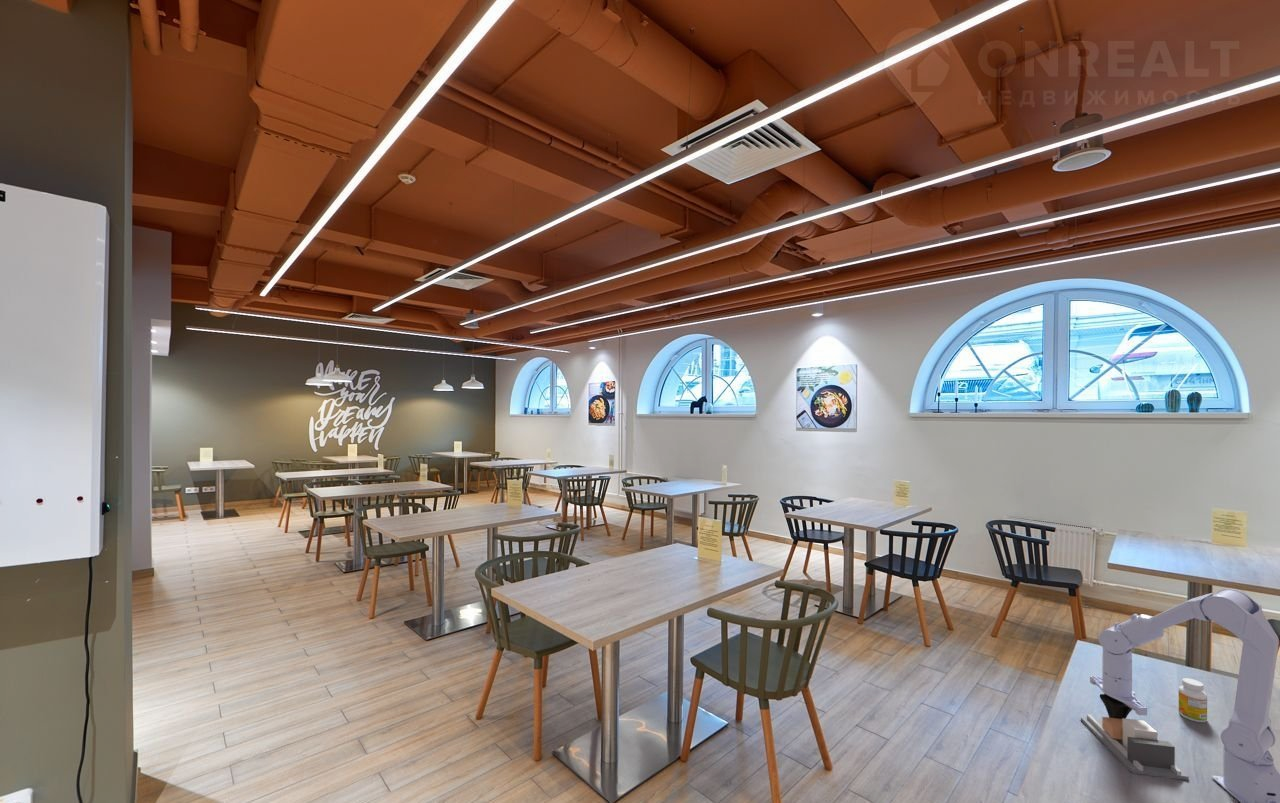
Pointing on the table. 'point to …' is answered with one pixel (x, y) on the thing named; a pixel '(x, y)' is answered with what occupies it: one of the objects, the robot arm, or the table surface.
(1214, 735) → the table surface
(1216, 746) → the table surface
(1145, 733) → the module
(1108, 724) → the peach block
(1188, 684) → the supplement bottle
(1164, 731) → the table surface
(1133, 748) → the rail holder
